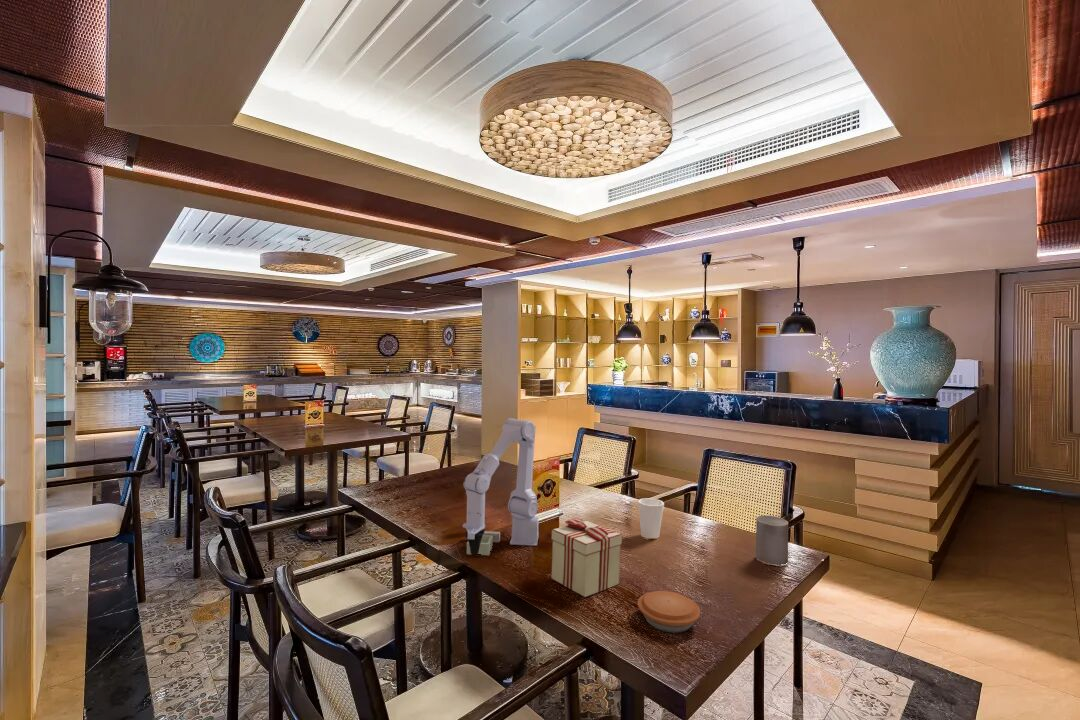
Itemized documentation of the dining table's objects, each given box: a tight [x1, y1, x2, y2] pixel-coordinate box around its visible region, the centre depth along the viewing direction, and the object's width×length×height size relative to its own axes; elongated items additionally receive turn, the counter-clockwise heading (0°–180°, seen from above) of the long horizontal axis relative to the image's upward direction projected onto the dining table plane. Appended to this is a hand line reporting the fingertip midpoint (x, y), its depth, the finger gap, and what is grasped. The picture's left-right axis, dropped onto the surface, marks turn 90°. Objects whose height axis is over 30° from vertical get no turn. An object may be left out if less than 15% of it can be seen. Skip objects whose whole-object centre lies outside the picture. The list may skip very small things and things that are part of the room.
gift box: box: [551, 517, 623, 598], centre depth 143 cm, size 17×18×17 cm
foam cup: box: [637, 497, 665, 538], centre depth 179 cm, size 10×9×13 cm
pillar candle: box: [755, 515, 789, 565], centre depth 160 cm, size 10×10×15 cm
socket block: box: [466, 535, 494, 556], centre depth 163 cm, size 8×8×4 cm
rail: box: [483, 530, 501, 543], centre depth 171 cm, size 11×2×3 cm, turn 87°
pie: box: [636, 590, 701, 633], centre depth 122 cm, size 16×16×5 cm
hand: (474, 553), depth 154 cm, fingers closed
